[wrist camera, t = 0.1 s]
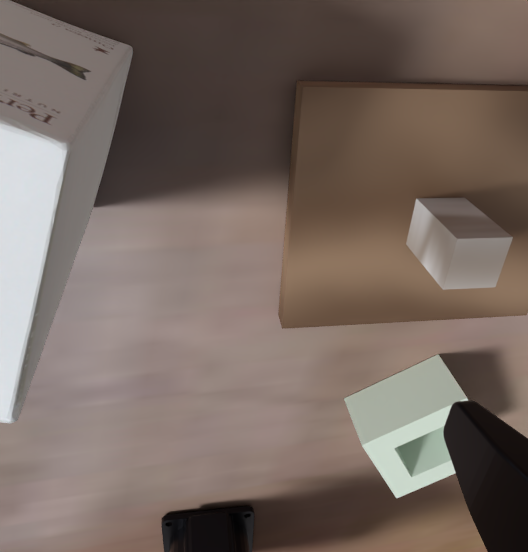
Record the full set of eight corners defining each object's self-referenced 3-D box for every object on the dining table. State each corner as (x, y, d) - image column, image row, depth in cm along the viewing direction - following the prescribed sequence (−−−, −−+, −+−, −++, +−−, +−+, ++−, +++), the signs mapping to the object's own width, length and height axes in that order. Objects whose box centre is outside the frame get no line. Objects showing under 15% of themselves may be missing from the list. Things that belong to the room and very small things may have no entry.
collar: (463, 413, 34) (491, 457, 31) (377, 451, 34) (396, 498, 31) (438, 354, 30) (467, 397, 27) (343, 398, 31) (361, 445, 28)
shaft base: (514, 302, 29) (574, 363, 24) (278, 314, 27) (297, 383, 22) (597, 87, 22) (698, 116, 18) (296, 80, 20) (329, 112, 16)
